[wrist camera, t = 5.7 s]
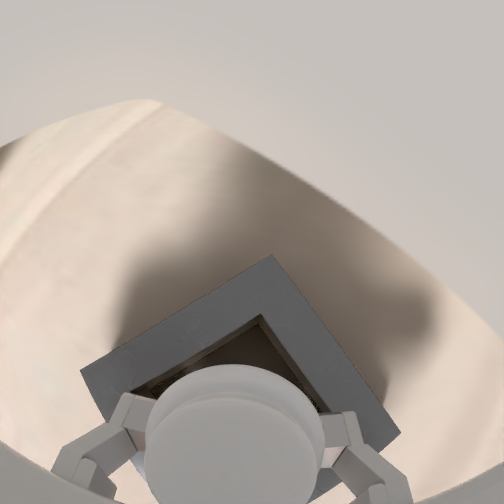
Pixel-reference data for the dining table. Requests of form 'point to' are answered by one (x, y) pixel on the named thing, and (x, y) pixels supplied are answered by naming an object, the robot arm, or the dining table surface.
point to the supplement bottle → (233, 439)
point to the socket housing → (229, 327)
